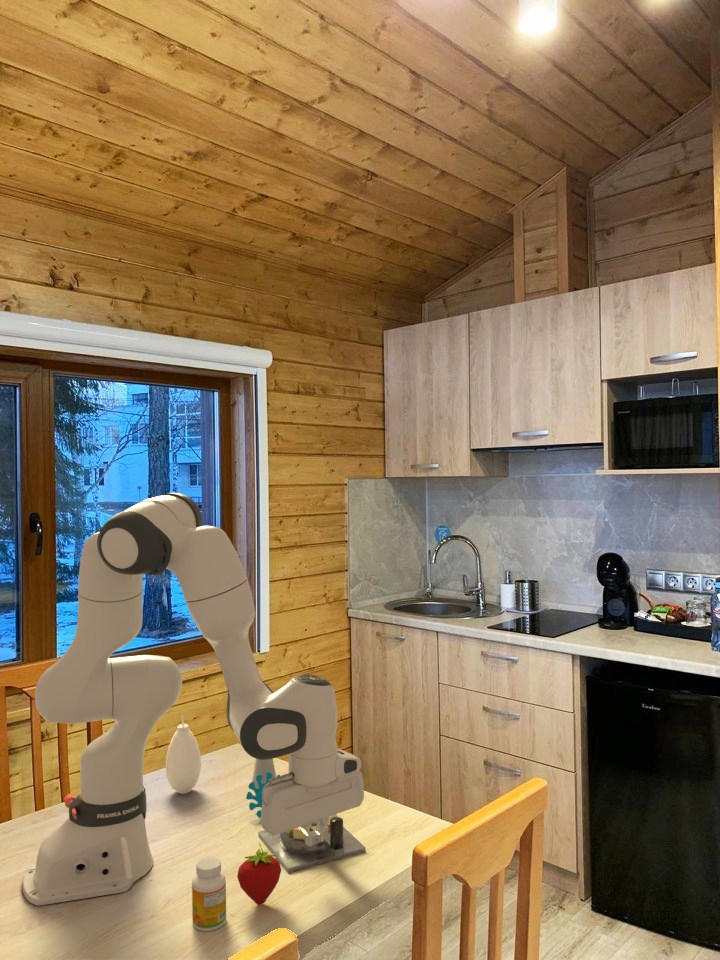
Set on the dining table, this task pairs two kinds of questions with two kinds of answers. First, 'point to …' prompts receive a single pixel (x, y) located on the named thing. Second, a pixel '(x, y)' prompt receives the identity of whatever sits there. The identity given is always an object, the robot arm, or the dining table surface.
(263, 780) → the salt shaker
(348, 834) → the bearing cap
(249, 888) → the strawberry
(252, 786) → the teal virus model
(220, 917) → the supplement bottle
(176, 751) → the white air blower bulb
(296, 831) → the ring nut
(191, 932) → the dining table surface
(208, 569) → the robot arm
